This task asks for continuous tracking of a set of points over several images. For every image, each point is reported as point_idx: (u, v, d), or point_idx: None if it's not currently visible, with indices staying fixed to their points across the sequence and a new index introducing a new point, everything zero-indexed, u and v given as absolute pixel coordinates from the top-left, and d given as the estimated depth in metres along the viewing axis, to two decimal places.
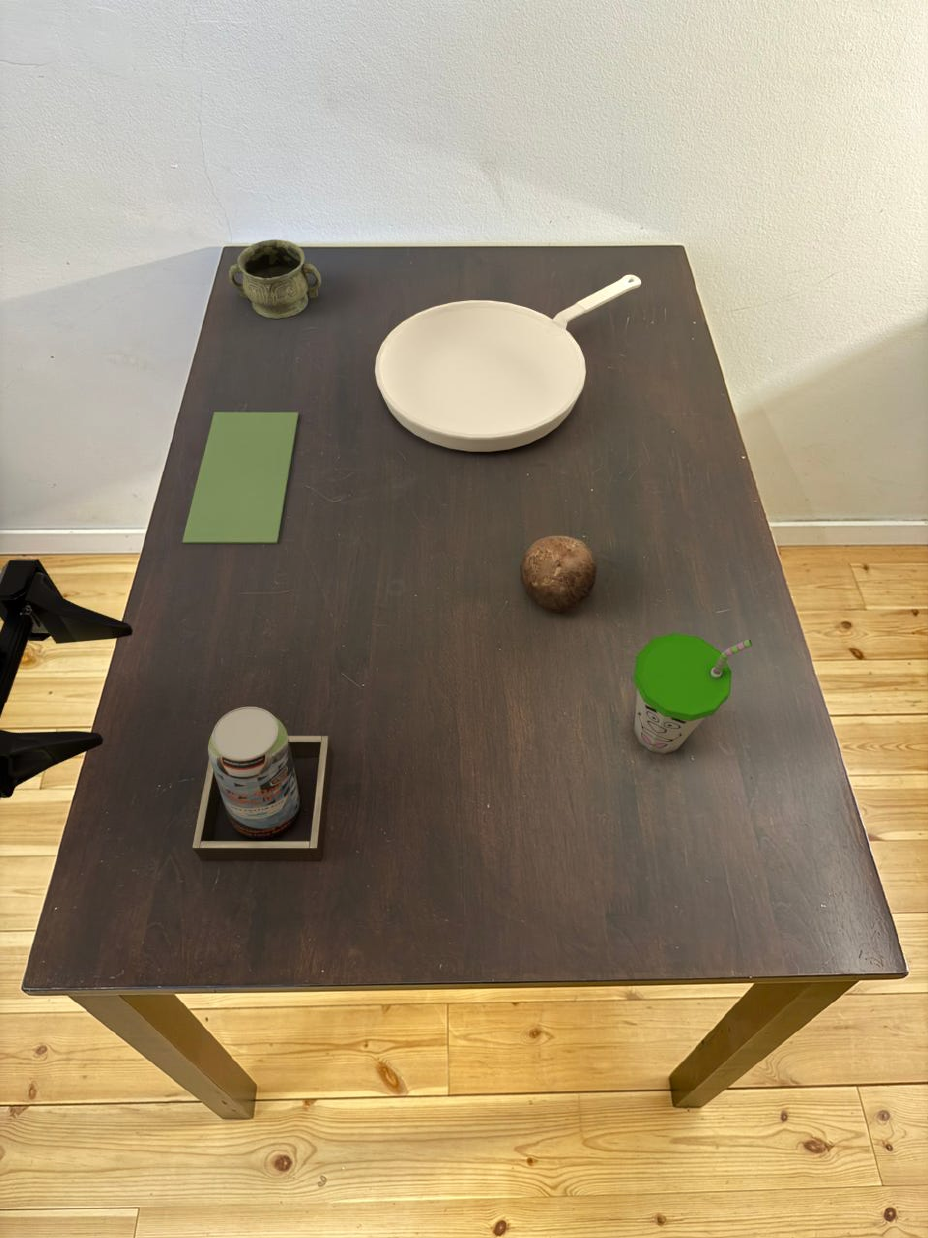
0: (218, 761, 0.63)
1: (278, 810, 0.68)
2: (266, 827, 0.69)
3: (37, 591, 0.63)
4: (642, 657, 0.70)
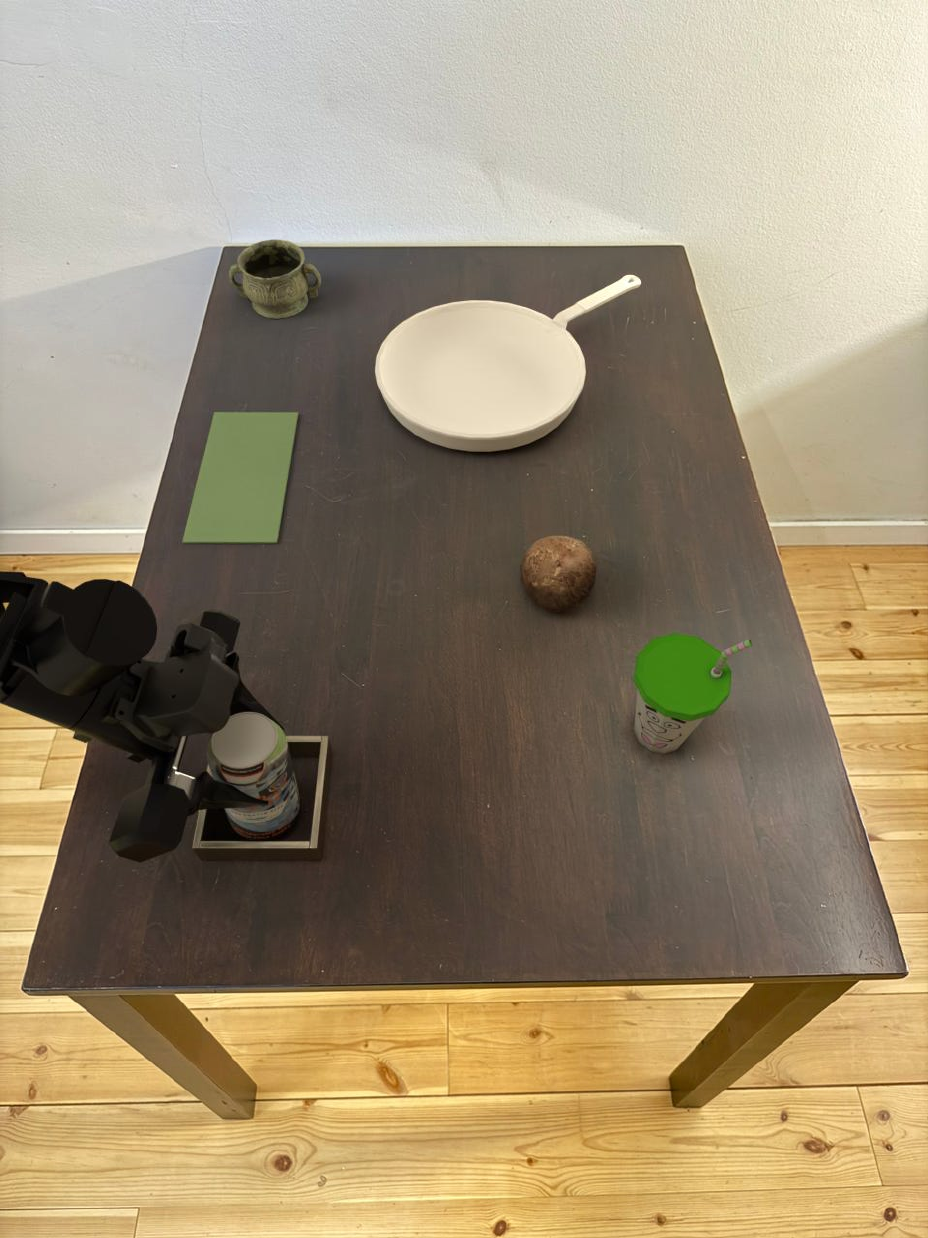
0: (216, 768, 0.63)
1: (277, 814, 0.68)
2: (265, 830, 0.69)
3: None
4: (642, 657, 0.70)
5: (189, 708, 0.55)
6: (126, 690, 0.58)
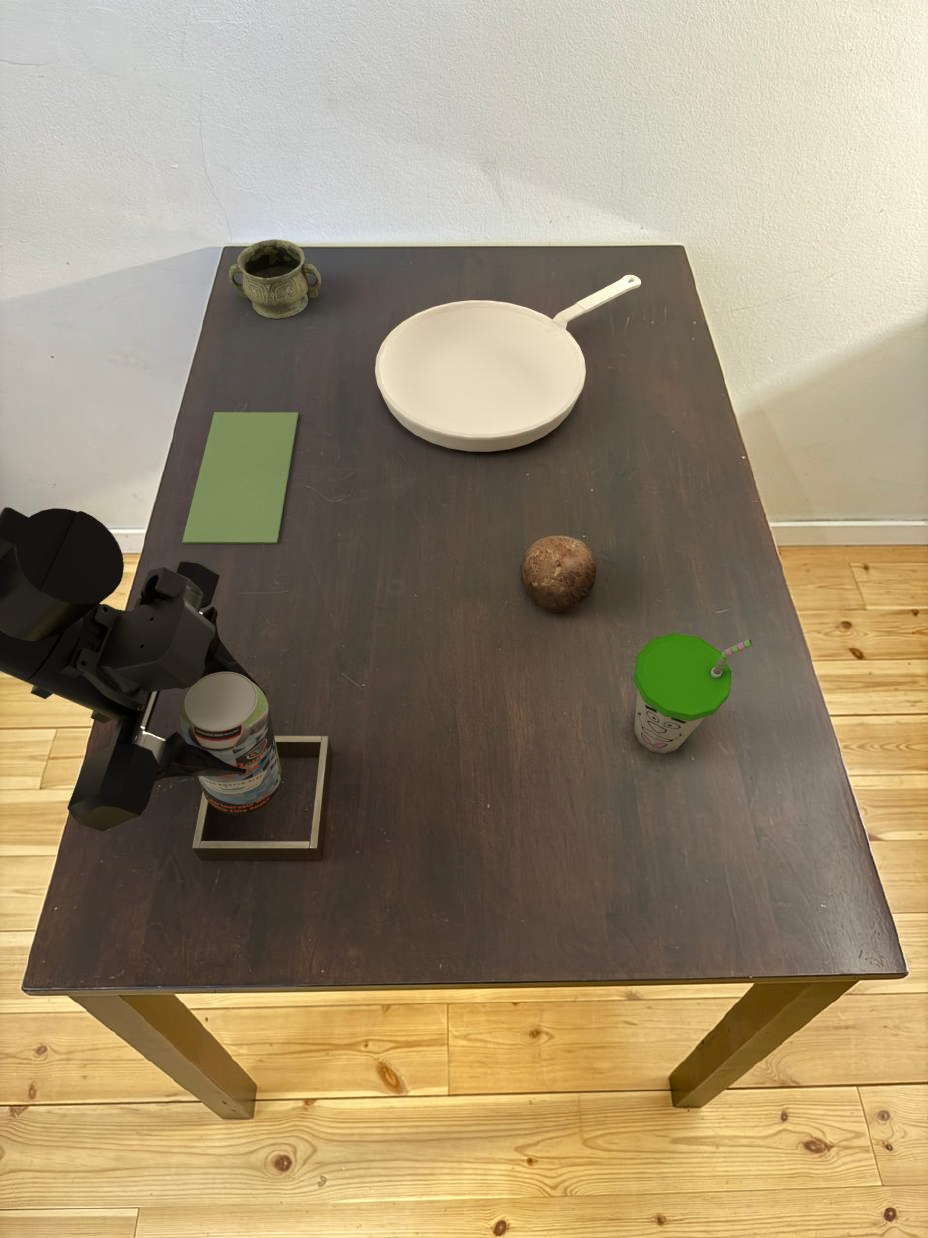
0: (189, 730, 0.57)
1: (256, 785, 0.62)
2: (242, 803, 0.63)
3: None
4: (642, 657, 0.70)
5: (158, 658, 0.50)
6: (90, 639, 0.53)
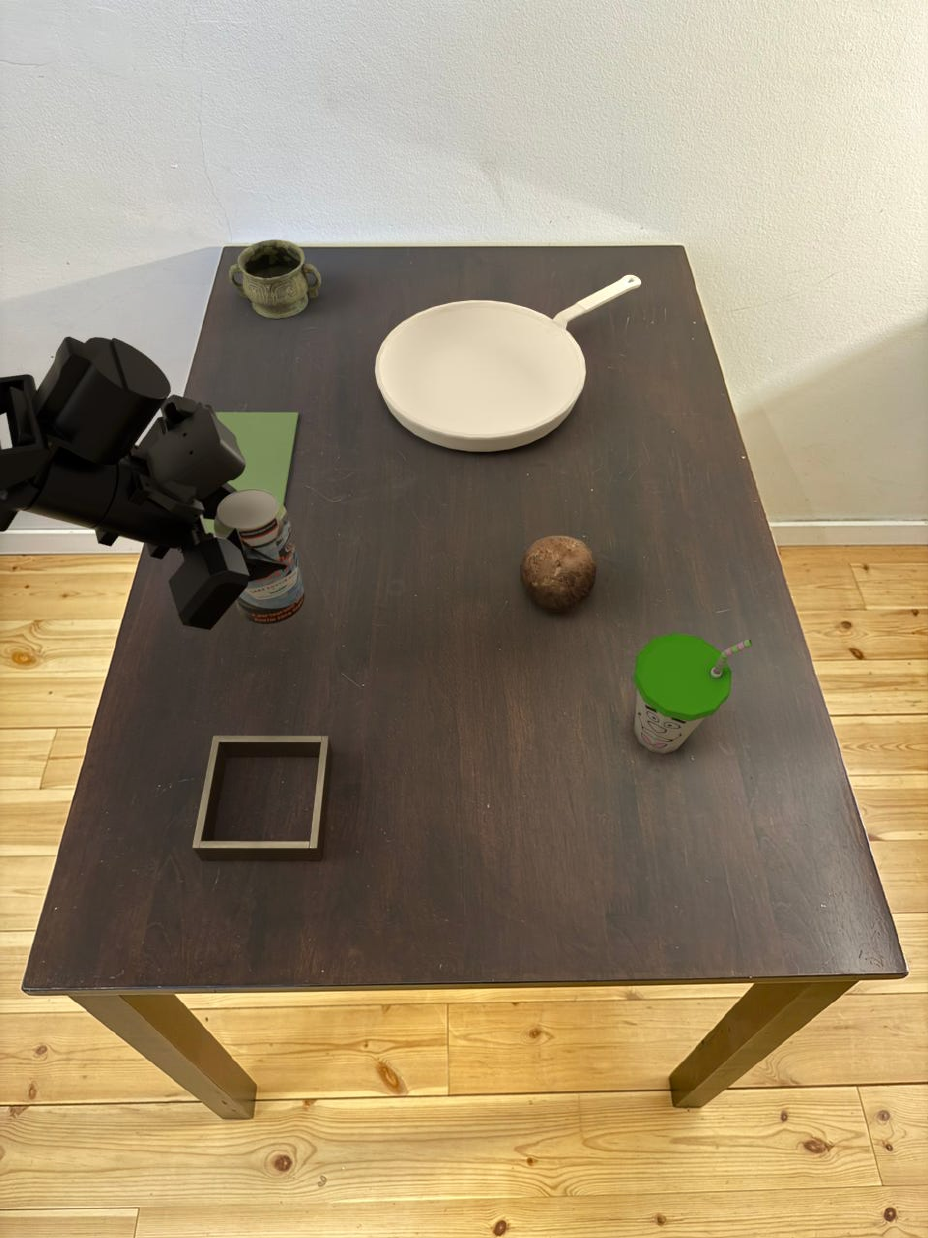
0: None
1: (294, 582, 0.73)
2: (287, 604, 0.73)
3: None
4: (642, 657, 0.70)
5: (215, 449, 0.59)
6: (139, 470, 0.61)
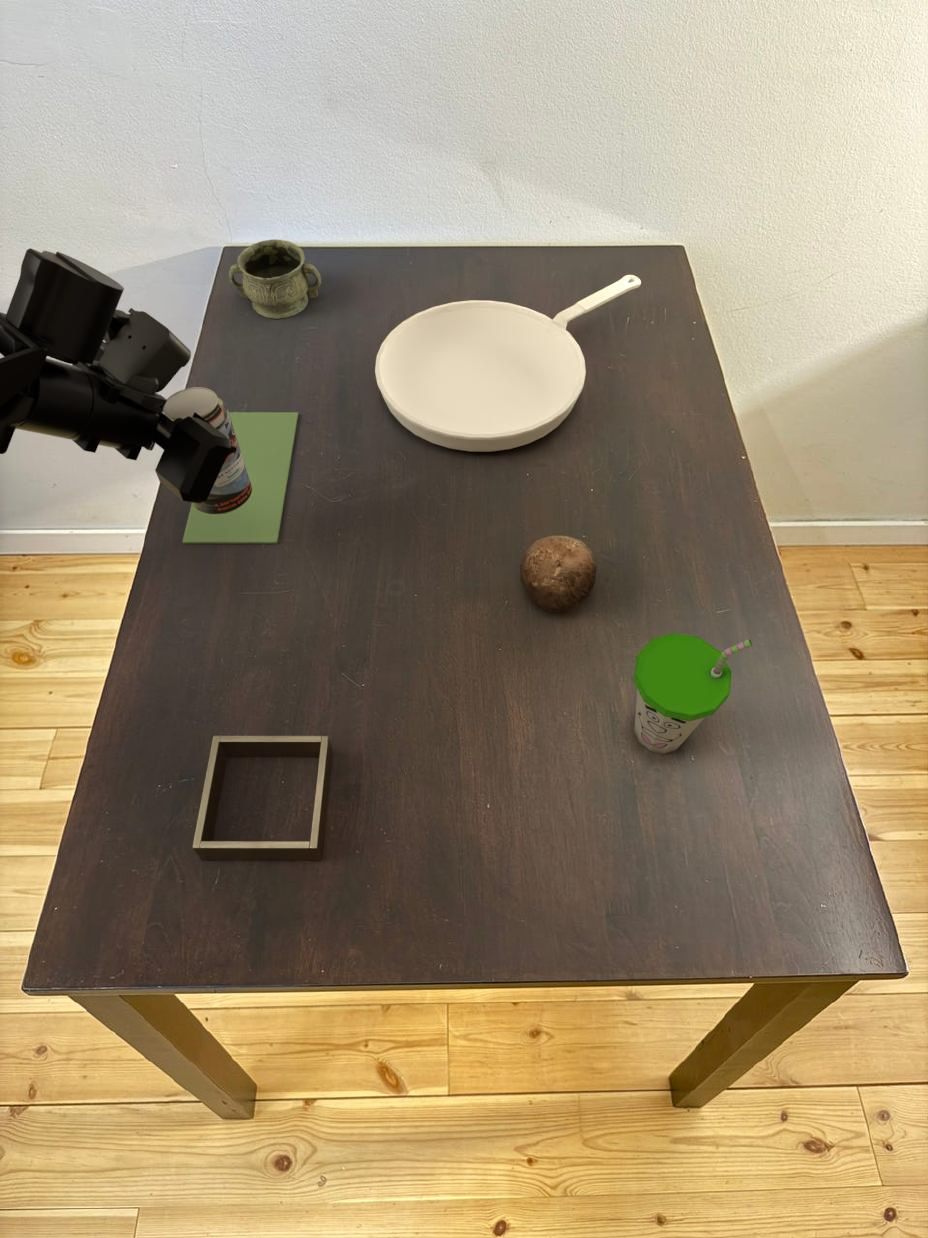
0: None
1: (243, 466, 0.82)
2: (242, 487, 0.82)
3: None
4: (642, 657, 0.70)
5: (167, 336, 0.68)
6: (102, 375, 0.68)
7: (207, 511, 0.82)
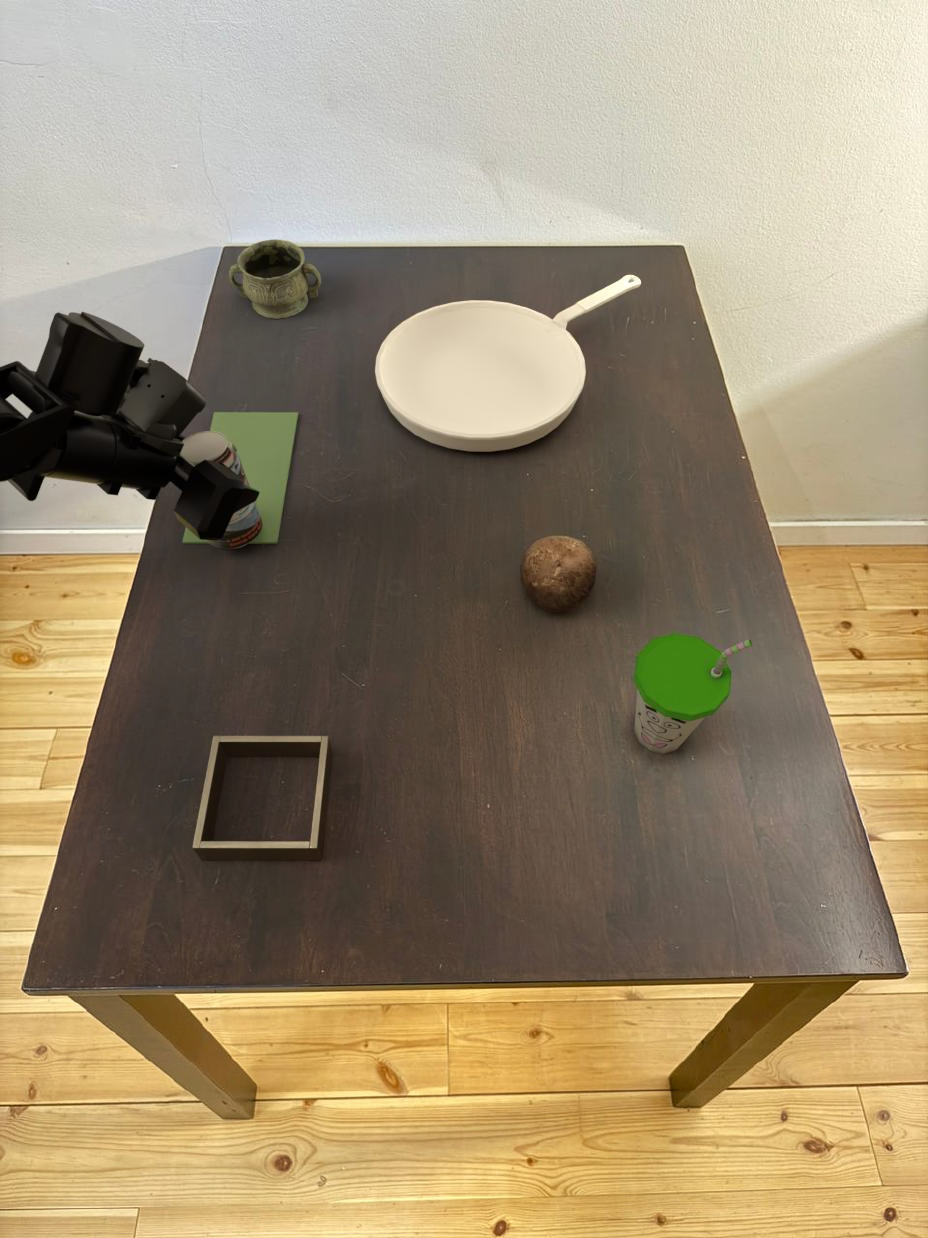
0: None
1: (253, 503, 0.86)
2: (253, 523, 0.87)
3: None
4: (642, 657, 0.70)
5: (184, 386, 0.72)
6: (123, 423, 0.72)
7: (220, 546, 0.87)
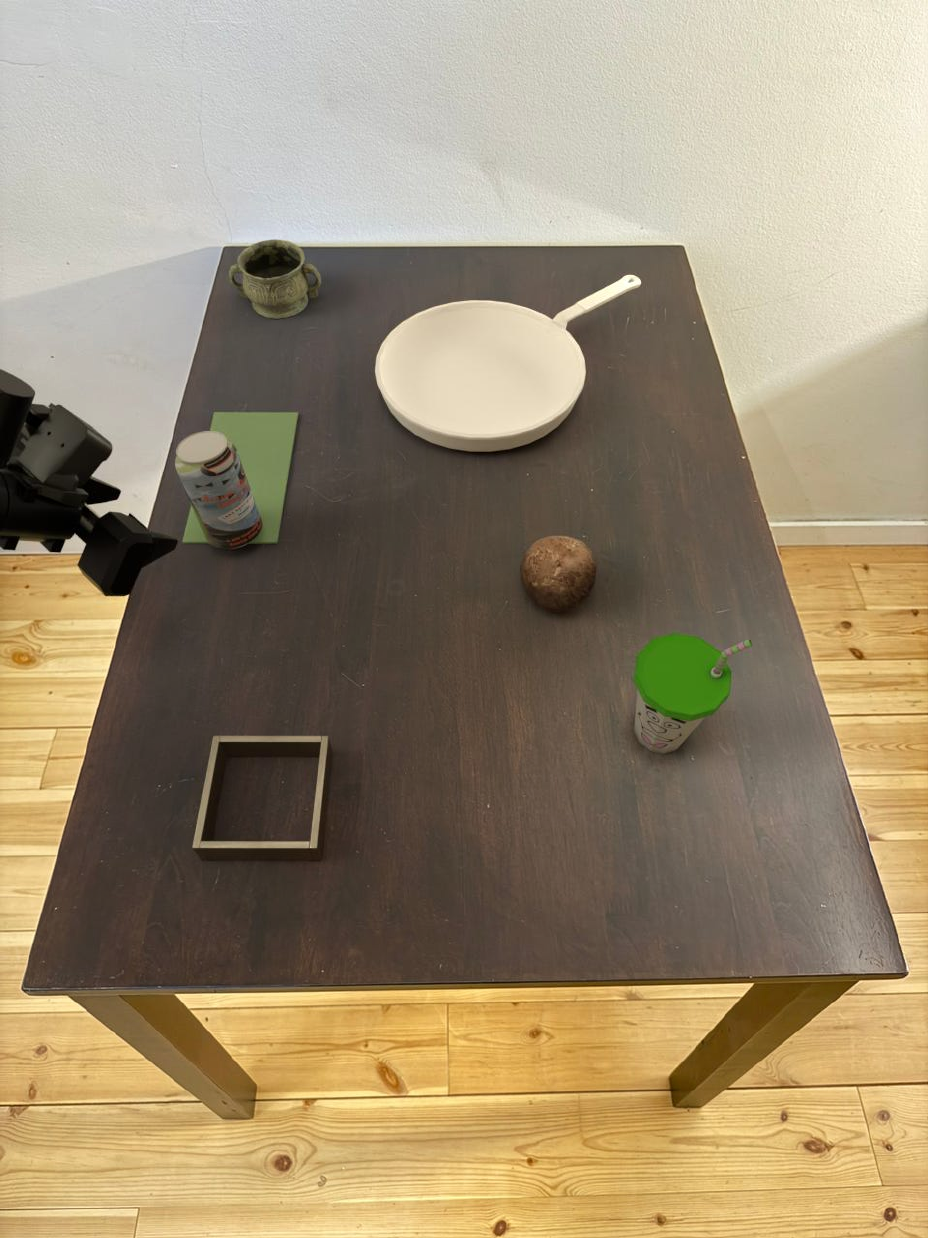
0: (202, 470, 0.80)
1: (253, 503, 0.86)
2: (253, 523, 0.87)
3: None
4: (642, 657, 0.70)
5: (85, 435, 0.67)
6: (20, 474, 0.67)
7: (220, 546, 0.87)
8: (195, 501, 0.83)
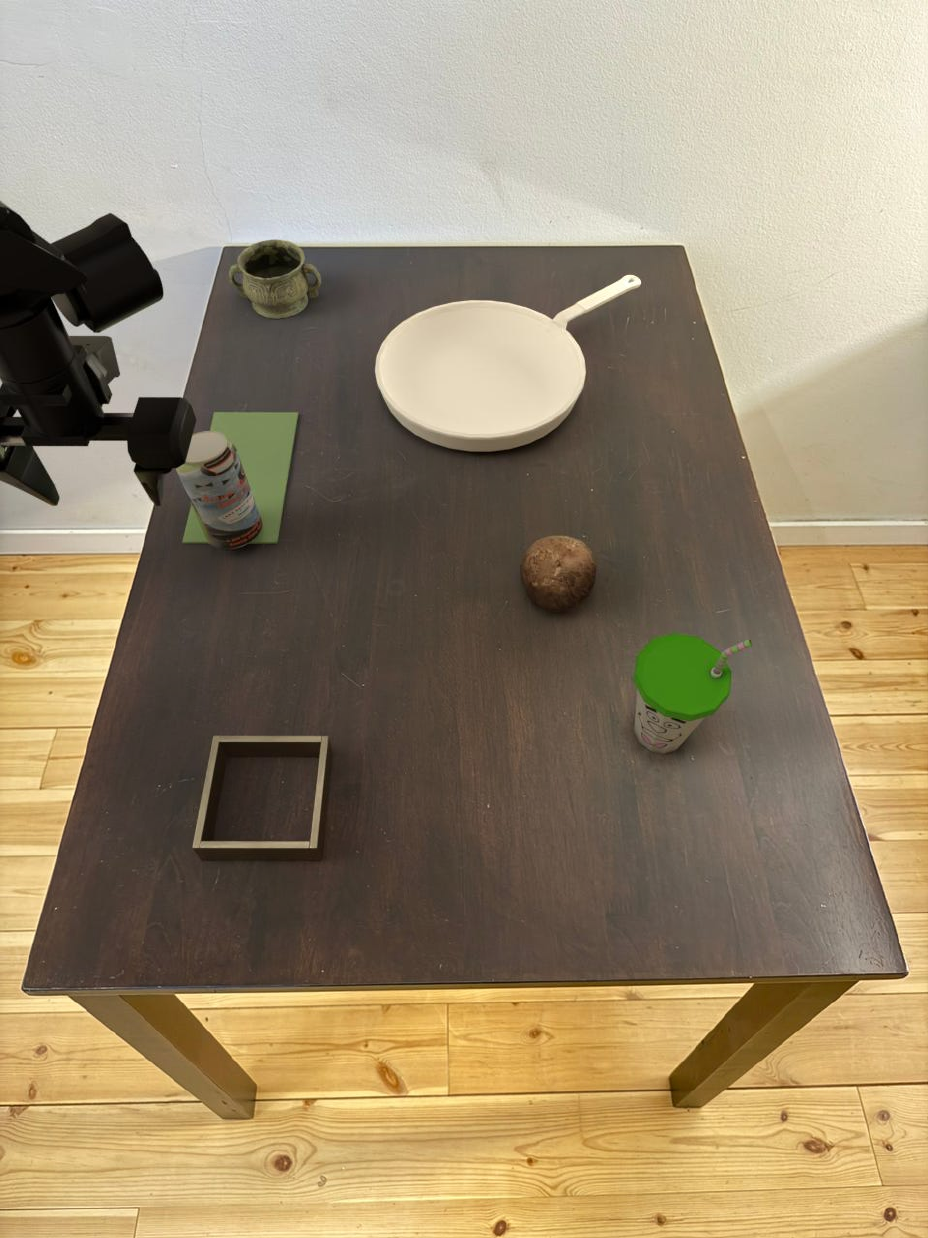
0: (202, 470, 0.80)
1: (253, 503, 0.86)
2: (253, 523, 0.87)
3: None
4: (642, 657, 0.70)
5: (110, 337, 0.71)
6: None
7: (220, 546, 0.87)
8: (195, 501, 0.83)
